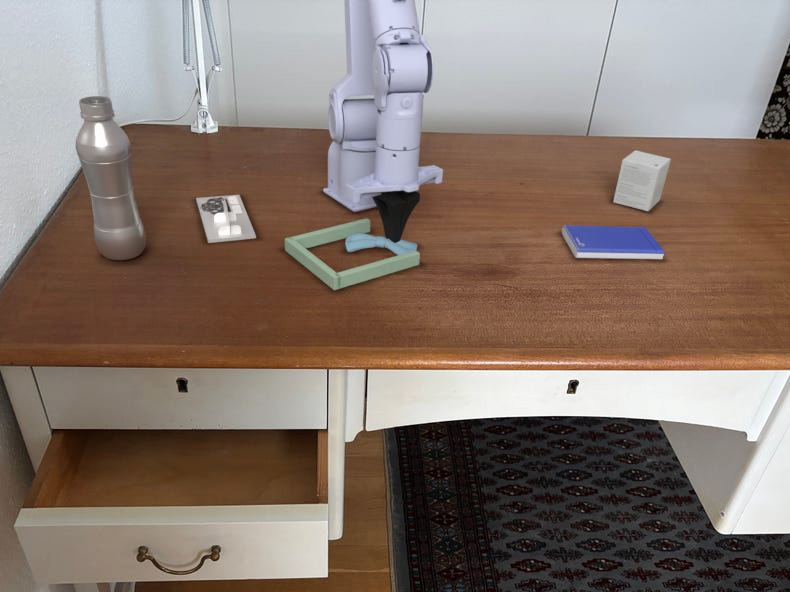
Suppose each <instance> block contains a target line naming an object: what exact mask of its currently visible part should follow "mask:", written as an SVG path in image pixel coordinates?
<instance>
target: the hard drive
mask: <svg viewBox="0 0 790 592" xmlns="http://www.w3.org/2000/svg"><path fill="white" fill-rule="evenodd" d="M561 236H562V237H563V239H564V240H565V243H566V245H567V246H568V248H569V249H570V251H571V253H572V255H573V256H574V258H575V259H612V260H613V259H617V260H618V259H619V260H663V259H664V255H665V249H664V248H663V247H662V246H661V244H660V243H659V242H658V241H657V240H656V239H655V237H654V236H653V235H652V234H651V233H650V231H649V230H648V228H647V227H645V226H607V225H606V226H605V225H604V226H603V225H573V224H572V225H570V224H569V225H568V224H567V225H565V224H564V225H562V229H561Z"/></svg>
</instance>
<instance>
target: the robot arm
mask: <svg viewBox="0 0 790 592" xmlns="http://www.w3.org/2000/svg"><path fill="white" fill-rule="evenodd" d="M343 2H344V3H343V4H344V25H345V30H344V31H345V49H346V50H345V53H346V74H345V75H344V76H343V78H341V79H340V80H339V81H338V82H336V83H335V84H334V85H333V86H332V88H331V89H330V90H329V94H328V98H329V99H328V109H327V110H328V111H327V123H328V132H329V135H330V138H331V139H332V142H331V144H330V145H329V148H328V152H327V187H324V188H323V190H322V192H323V193H324V194H326V196H329V197H330V198H332V199H334V200H335V201H337V202H338V203H339V204H341V205H343V206H344V207H346V208H347V209H349V210H350V211H352V212H354V213H356V212H361V211H365V210H369V209H373V208H377V210H378V214H379V217H380V220H381V222H382V227H383V232H384V237H386V238H387V239H390V240H391V241H392V242H394V243H397V242H399V241H400V240H402V237H403V234H404V231H405V229H406V226H407V223H408V221H409V218H410V216H411V214H412V213H413V211H414V209H415V208H416V207H417V205H418V204H419V203H420V201H421V200H420V199H421V193H420V192H418V191H419V190H420V186H424V185H429V184H432V183H433V184H435V185H438V184H442V183H443V177H444V176H443V175H444V169H443V168H441V167H439V166H436V165H435V164H432V165H426V166H419V165H420V151H421V139H422V138H421V136H422V125H423V124H422V123H423V112H424V111H423V110H424V94H428V93H429V92H430V90H431V88H432V85H433V79H434V58H433V52H432V48H431V46H430V44H429V43H428V42H427V39H426V35H425V34H421V32H420V31H421V30H420V25H419V18H418V14H417V8H416V1H415V0H343ZM423 93H424V94H423ZM357 96H358V97H359V96H373V98H349V97H357Z"/></svg>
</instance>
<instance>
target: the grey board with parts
mask: <svg viewBox="0 0 790 592" xmlns="http://www.w3.org/2000/svg"><path fill="white" fill-rule="evenodd" d="M195 201H196V205H197V208H198V211H199V216H200V219H201V222H202V226H203V229H204V233H205V237H206V240H207V243H208V244H211V243H212V244H213V243H222V242H232V241H233V242H234V241H242V240H243V241H244V240H251V239H252V240H254V239H257V235H256V232H255V230H254V227H253V225H252V222H251V220H250V217H249V214H248V213H247V210H246V208H245V205H244V202H243V200H242V198H241V195H240V194H231V195H218V196H217V195H216V196H205V197H196V198H195Z"/></svg>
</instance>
